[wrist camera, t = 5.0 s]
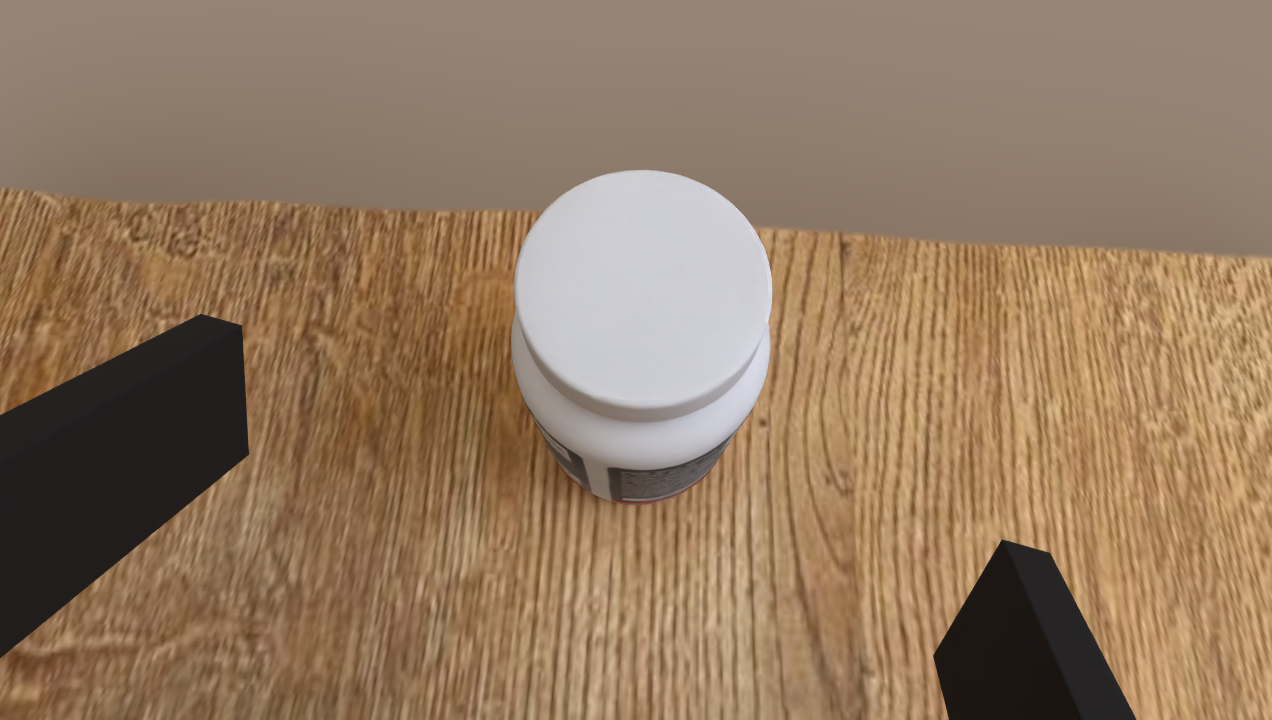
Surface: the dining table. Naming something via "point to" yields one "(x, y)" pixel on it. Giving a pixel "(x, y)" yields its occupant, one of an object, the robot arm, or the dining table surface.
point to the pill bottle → (640, 331)
